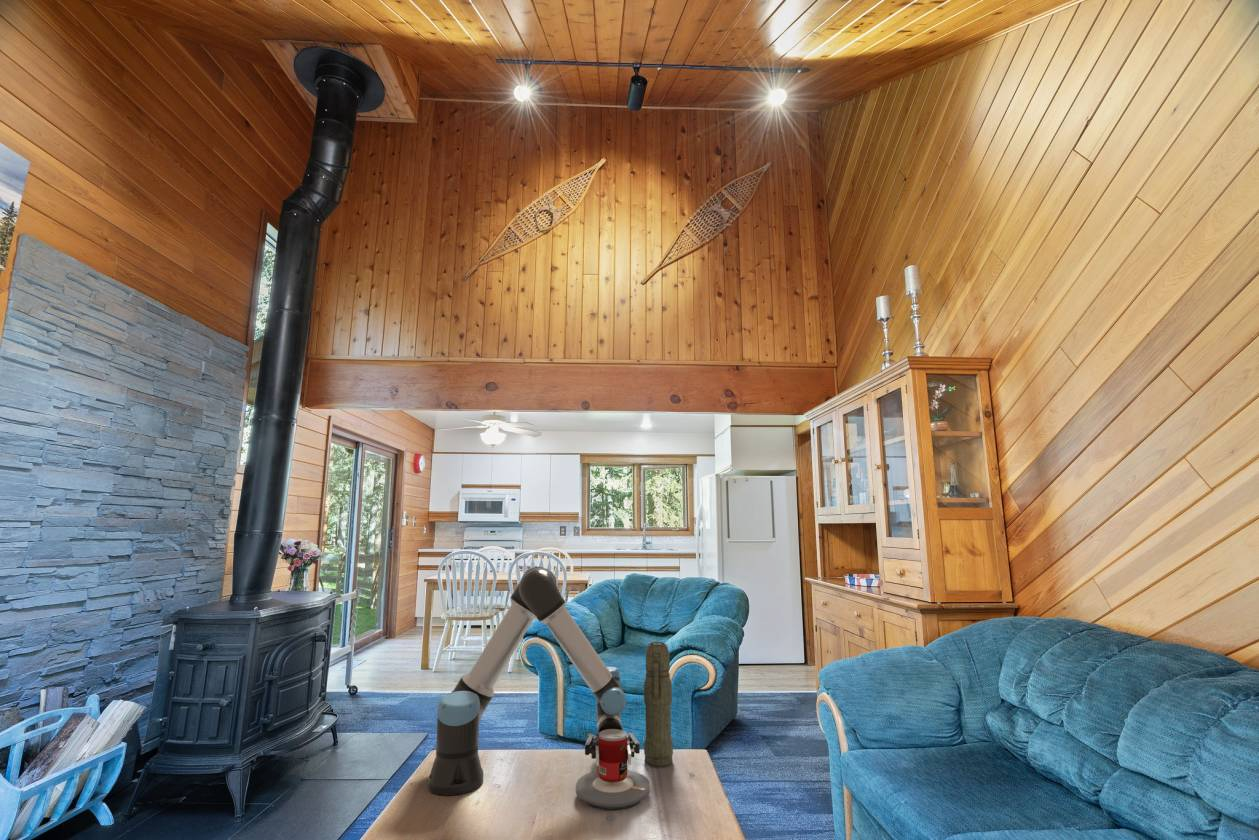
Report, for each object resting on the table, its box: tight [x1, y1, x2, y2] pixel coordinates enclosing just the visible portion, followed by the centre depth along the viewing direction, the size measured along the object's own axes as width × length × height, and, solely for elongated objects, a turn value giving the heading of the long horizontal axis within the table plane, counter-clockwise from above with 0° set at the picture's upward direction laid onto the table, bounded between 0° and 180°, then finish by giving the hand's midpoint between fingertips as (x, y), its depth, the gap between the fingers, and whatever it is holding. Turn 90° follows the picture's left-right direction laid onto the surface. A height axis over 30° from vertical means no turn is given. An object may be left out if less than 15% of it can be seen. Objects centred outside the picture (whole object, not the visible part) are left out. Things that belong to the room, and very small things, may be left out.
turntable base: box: [584, 801, 642, 812], centre depth 163 cm, size 16×16×2 cm
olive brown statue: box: [643, 641, 674, 769], centre depth 189 cm, size 9×12×35 cm
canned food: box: [597, 729, 628, 782], centre depth 165 cm, size 8×8×11 cm
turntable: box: [575, 769, 651, 807], centre depth 164 cm, size 20×20×2 cm
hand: (613, 759), depth 160 cm, fingers closed on canned food, 8 cm apart
